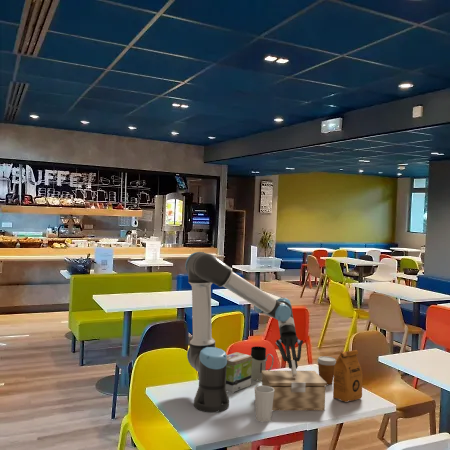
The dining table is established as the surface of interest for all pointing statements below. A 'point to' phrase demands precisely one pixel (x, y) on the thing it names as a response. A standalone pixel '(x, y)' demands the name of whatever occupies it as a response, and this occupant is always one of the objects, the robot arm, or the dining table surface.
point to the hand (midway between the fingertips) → (294, 375)
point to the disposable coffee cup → (326, 368)
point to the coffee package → (347, 377)
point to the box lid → (293, 379)
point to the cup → (264, 403)
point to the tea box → (238, 371)
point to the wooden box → (297, 398)
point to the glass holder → (259, 362)
